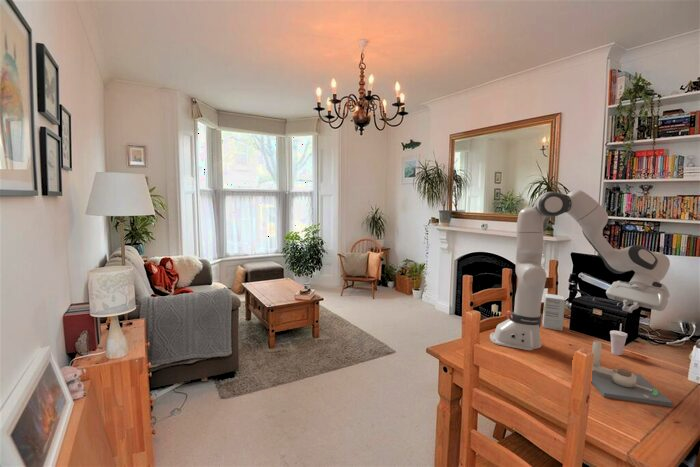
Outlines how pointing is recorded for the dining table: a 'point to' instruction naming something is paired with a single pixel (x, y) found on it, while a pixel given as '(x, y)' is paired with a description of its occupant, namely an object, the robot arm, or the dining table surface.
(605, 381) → the dial plate
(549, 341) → the dining table surface
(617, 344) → the smoothie
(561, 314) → the supplement box
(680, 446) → the dining table surface
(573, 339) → the dining table surface
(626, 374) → the dial rotor
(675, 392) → the dining table surface
